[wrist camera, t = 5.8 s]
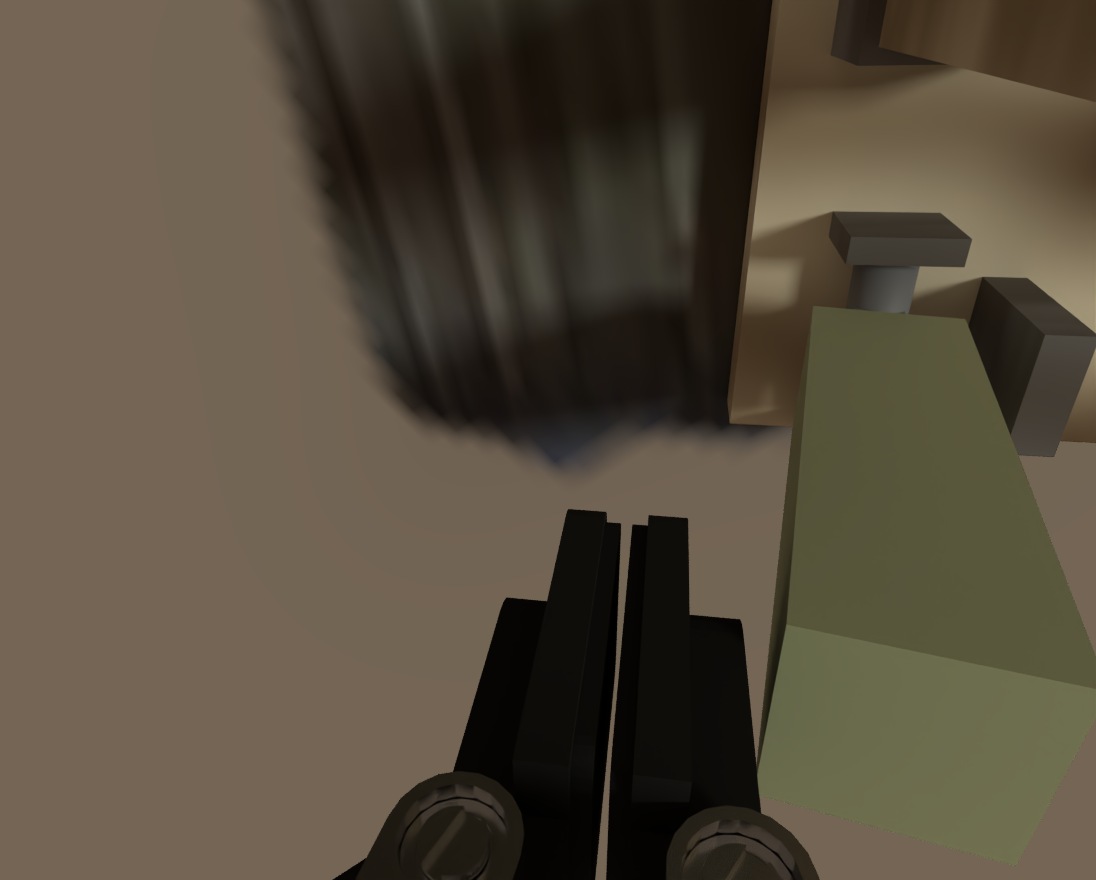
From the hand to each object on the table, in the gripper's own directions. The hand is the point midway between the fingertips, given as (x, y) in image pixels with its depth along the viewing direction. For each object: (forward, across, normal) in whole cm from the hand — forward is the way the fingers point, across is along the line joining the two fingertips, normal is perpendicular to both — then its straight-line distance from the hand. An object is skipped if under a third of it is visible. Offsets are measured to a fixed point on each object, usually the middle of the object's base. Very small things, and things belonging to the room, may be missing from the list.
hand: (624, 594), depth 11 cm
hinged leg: (+10, -5, 0) cm, 11 cm away
